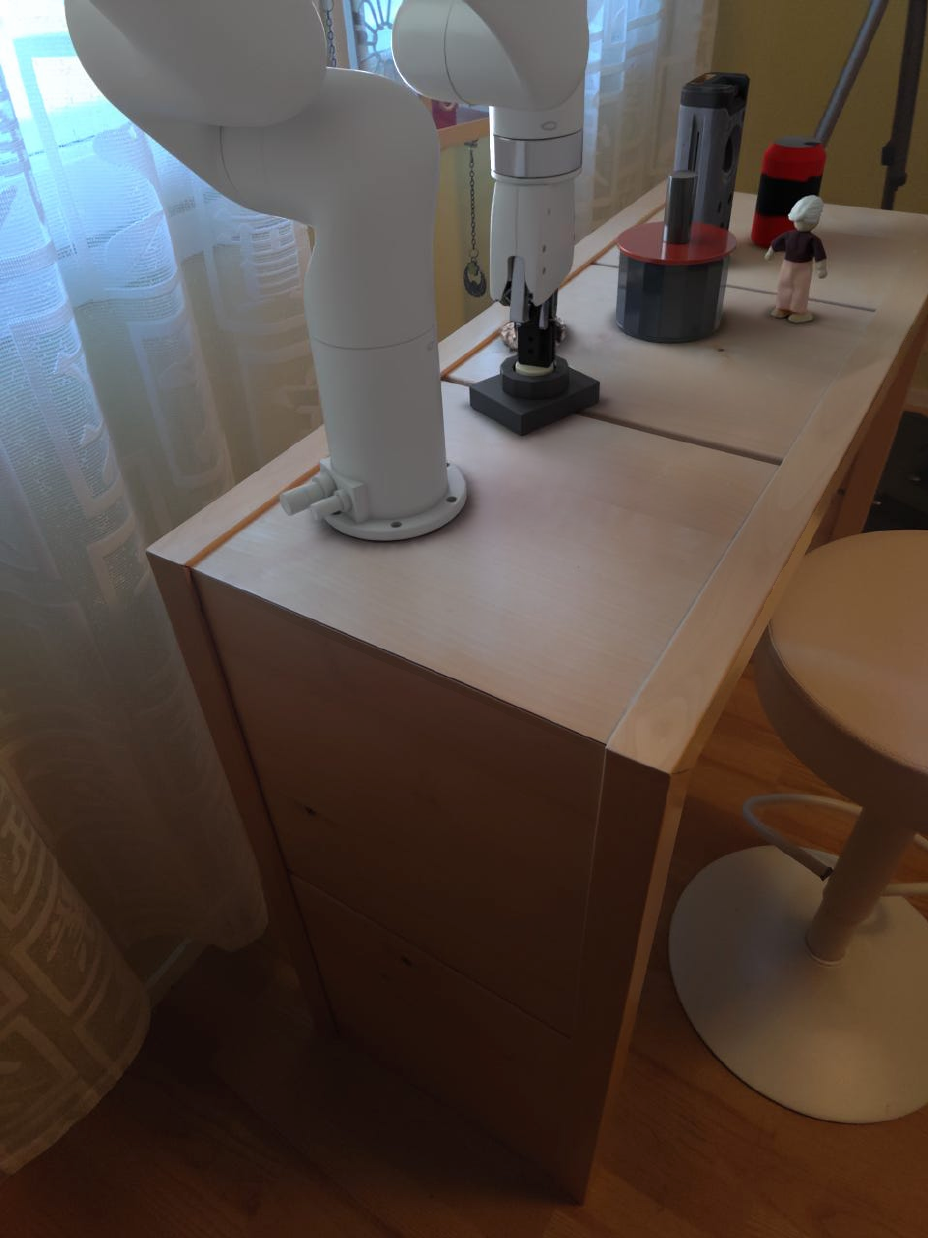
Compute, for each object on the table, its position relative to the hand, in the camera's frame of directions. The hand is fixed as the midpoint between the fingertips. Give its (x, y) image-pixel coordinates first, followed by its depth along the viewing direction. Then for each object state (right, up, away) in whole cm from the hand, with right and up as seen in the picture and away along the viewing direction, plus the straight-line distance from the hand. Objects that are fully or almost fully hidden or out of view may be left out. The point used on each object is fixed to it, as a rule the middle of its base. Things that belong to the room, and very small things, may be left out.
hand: (536, 362), depth 85 cm
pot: (+16, +9, +16) cm, 25 cm away
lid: (+16, +16, +10) cm, 25 cm away
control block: (0, -3, +3) cm, 4 cm away
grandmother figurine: (+30, +10, +16) cm, 35 cm away
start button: (0, -1, +1) cm, 2 cm away
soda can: (+35, +26, +34) cm, 55 cm away
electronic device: (+23, +23, +31) cm, 45 cm away
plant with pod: (0, +6, +14) cm, 15 cm away
